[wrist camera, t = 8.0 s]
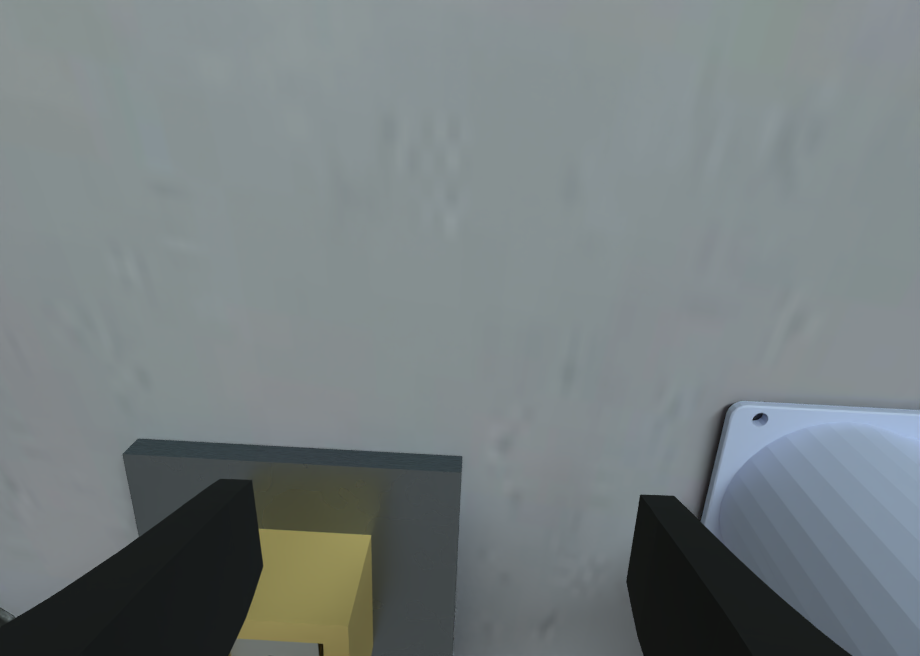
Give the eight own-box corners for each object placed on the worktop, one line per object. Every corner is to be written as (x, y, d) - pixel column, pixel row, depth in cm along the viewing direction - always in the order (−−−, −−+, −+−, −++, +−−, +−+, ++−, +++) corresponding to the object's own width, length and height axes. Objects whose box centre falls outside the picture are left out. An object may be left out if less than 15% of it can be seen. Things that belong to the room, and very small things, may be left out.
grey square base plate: (462, 456, 21) (458, 531, 18) (450, 687, 26) (445, 787, 22) (137, 438, 21) (66, 509, 18) (181, 671, 26) (130, 766, 22)
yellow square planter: (371, 535, 21) (343, 643, 17) (373, 646, 23) (349, 767, 19) (221, 526, 22) (156, 632, 17) (236, 637, 24) (181, 756, 19)
